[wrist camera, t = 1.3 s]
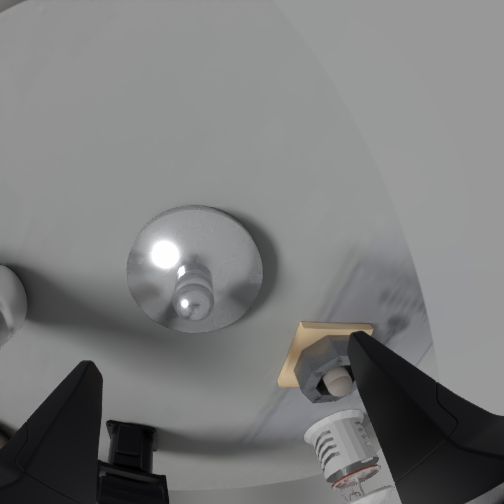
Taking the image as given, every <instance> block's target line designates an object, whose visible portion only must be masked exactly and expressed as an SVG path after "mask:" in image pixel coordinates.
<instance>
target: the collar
mask: <svg viewBox="0 0 504 504" xmlns="http://www.w3.org/2000/svg"><path fill="white" fill-rule="evenodd" d="M349 337H350V335H326V336H324V337H323V338H321V339H320V340H318V341H316V342H315V343H313V344H312V345H310V346H308V347H307V348H305V349H303V350H302V351H301V354H300V356H299V358H298V361H297V363H296V365H295V368H294V370H293V371H294V373H295V376H296V379H297V381H298V384H299V386H300V389H301V391H302V393H303V394H304V395H305V396H306V397H307V398H308V399H309V400H310V401H311V402H312V403H322V402H332V401H337V400H339V399H341V398H342V397H344V396H346V395H347V394H346V395H344V396H341V397H337V396H333V395H332V394H331V393H330V392H329V391H328V389H327V387H326V385H325V383H324V380H323V378H322V375H324V374H326V373H327V372H329V371H331V370H332V369H334V368H336V367H337V366H341V365H344V367H345V368H346V370H347V372H348V374H349V375H350V377H351V379H352V388H351V390H350V392H349V393H351V392H352V391H354V390H356V389H357V385H356V382H355V378H354V375H353V371H352V368H351V364H350V361H349V358H348V354H347V346H348V342H349ZM349 393H348V394H349Z"/></svg>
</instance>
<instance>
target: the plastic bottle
mask: <svg viewBox="0 0 504 504" xmlns="http://www.w3.org/2000/svg"><path fill="white" fill-rule="evenodd" d="M26 314H27V297H26V292H25V290H24V287H23V285H22V283H21V281H20V280H19V278H18V277H17V276H16V274H15V273H14V272H13V271H12V270H10V269H9V268H7V267H5V266H3V265H0V349H1V347H2V346H3V345H4V344H5V343H6V342H7V341H8V340H10V339H11V338H12V337H13V336H14V335H15V334H16V333H17V331H18V330H19V329H20V328H21V326H22V324H23V321H24V319H25V316H26Z"/></svg>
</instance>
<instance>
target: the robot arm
mask: <svg viewBox="0 0 504 504" xmlns="http://www.w3.org/2000/svg"><path fill="white" fill-rule="evenodd" d="M347 354H348V358H349V361H350V364H351V368H352V371H353V375H354V378H355V382H356V385H357V388H358V391H359V394H360V396H361V399H362V401H363V404H364V406H365V408H366V411H367V413H368V416H369V418H370V421H371V423H372V426H373V428H374V431H375V433H376V436H377V438H378V441H379V443H380V446H381V448H382V451H383V453H384V456H385V459H386V461H387V464H388V466H389V469H390V472H391V474H392V477H393V480H394V482H395V486H396V489H397V491H398V494H399V497H400V500H401V503H402V504H504V416H500V415H495V414H492V413H490V412H488V411H486V410H484V409H482V408H480V407H478V406H476V405H475V404H473V403H471V402H469V401H467V400H465V399H464V398H462V397H460V396H458V395H456V394H455V393H453V392H452V391H450V390H449V389H447V388H446V387H444V386H443V385H441V384H440V383H438V382H436V381H435V380H434V379H432V378H431V377H429V376H428V375H427V374H425V373H424V372H422V371H421V370H419V369H418V368H416V367H415V366H414V365H412V364H411V363H409V362H408V361H406V360H405V359H403V358H402V357H400V356H399V355H398V354H396V353H395V352H393V351H392V350H390V349H389V348H387V347H386V346H385V345H383V344H382V343H380V342H379V341H377V340H376V339H374V338H373V337H372V336H370V335H369V334H367V333H366V332H364V331H362V330H360V331H355V332H352V333H351V334H350V337H349V342H348V346H347ZM102 388H103V378H102V375H101V373H100V371H99V370H98V368H97V367H96V365H95V364H94V362H93V361H91V360H83V361H81V362H80V363H79V364H78V365H77V366H76V367H75V368H74V369H73V370H72V371H71V373H70V374H69V375H68V376H67V377H66V378H65V379H64V380H63V381H62V382H61V383H60V384H59V385H58V386H57V388H56V389H55V390H54V391H53V392H52V393H51V394H50V395H49V396H48V397H47V399H46V400H45V401H44V402H43V403H42V404H41V405H40V406H39V407H38V409H37V410H36V411H35V412H34V413H33V414H32V415H31V416H30V418H29V419H28V420H27V422H25V423H24V424H23V426H22V427H21V428H20V429H19V430H18V431H17V432H16V433H15V434H14V436H13V437H12V438H11V439H10V440H9V441H8V442H7V443H6V444H5V445H4V446H3V447H2V448H0V504H169V496H168V489H167V481H166V475H157V474H152V468H153V451H154V452H155V451H157V440H156V429H154V428H150V427H143V426H136V425H130V424H124V423H118V422H113V421H107V422H106V426H107V429H108V433H109V436H110V439H111V442H110V448H109V456H108V463H106V462H102V461H101V460H98V447H99V436H100V427H101V417H102Z"/></svg>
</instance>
